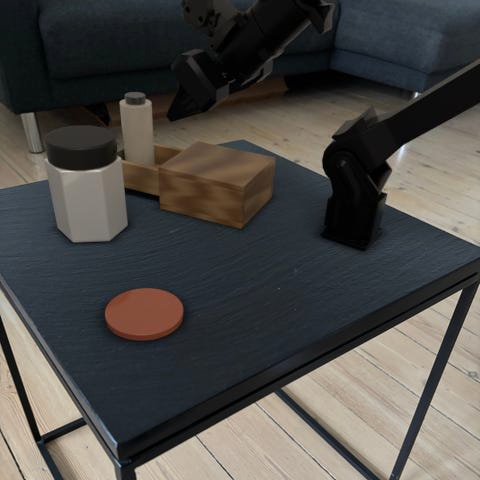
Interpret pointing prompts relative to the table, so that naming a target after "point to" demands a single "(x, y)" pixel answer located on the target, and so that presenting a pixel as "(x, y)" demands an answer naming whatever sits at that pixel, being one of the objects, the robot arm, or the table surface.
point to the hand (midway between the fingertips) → (185, 109)
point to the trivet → (144, 314)
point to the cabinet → (216, 183)
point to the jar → (86, 183)
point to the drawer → (146, 169)
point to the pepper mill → (137, 129)
